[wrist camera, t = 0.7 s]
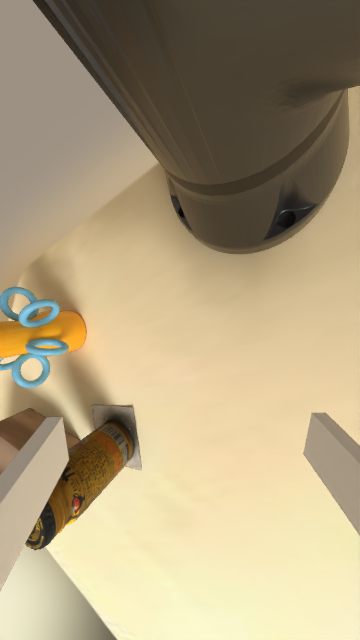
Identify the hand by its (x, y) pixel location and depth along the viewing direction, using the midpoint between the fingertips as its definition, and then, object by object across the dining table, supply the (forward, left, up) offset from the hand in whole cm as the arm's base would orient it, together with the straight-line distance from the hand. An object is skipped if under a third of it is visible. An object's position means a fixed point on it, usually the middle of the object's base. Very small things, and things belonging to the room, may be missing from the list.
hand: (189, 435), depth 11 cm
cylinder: (+3, -23, -13) cm, 27 cm away
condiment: (+15, -12, -13) cm, 23 cm away
